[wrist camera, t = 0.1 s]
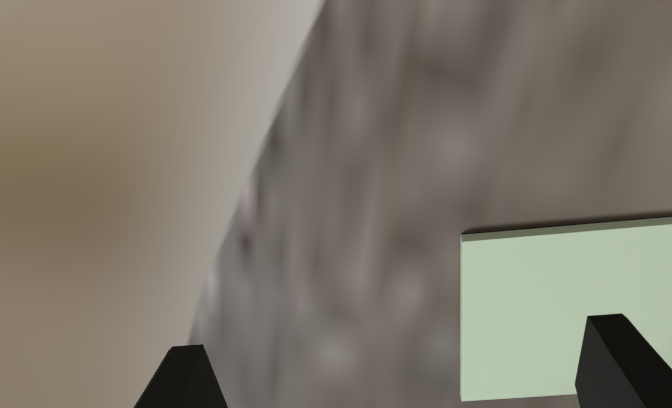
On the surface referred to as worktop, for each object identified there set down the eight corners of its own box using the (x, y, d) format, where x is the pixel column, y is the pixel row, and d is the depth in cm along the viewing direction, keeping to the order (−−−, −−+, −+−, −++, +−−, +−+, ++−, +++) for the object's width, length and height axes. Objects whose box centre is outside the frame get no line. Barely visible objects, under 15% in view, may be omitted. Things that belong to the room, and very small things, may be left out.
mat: (679, 379, 28) (682, 387, 28) (460, 393, 29) (461, 401, 29) (739, 211, 22) (745, 218, 22) (460, 234, 23) (462, 241, 23)
